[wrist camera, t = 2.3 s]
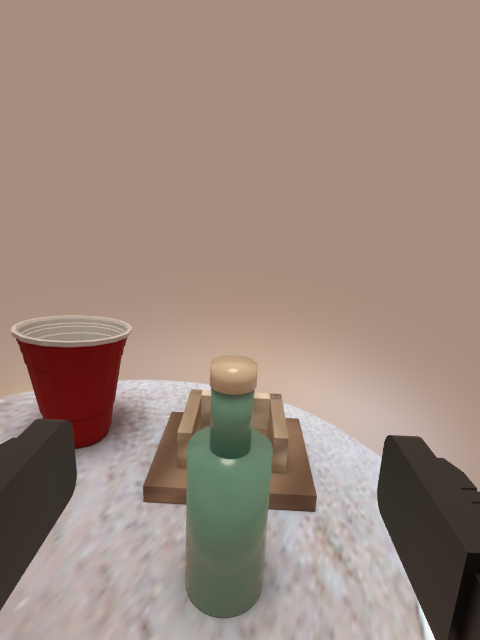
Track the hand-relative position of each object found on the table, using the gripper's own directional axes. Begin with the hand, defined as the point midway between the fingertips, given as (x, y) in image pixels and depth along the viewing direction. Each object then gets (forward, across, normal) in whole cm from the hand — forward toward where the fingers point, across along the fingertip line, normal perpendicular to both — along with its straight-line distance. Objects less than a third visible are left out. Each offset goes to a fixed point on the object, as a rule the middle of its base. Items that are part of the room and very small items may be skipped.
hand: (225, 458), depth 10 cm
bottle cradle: (+24, 0, +17) cm, 29 cm away
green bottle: (+12, 0, +17) cm, 21 cm away
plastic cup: (+28, +16, +17) cm, 36 cm away
